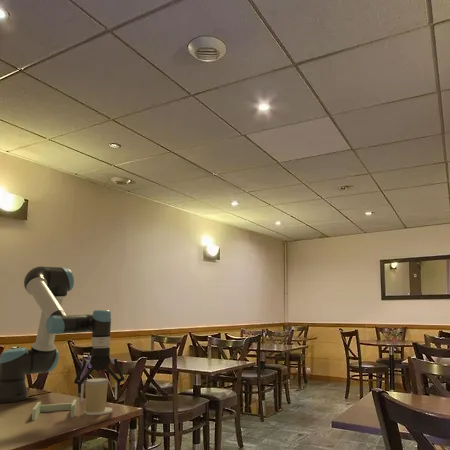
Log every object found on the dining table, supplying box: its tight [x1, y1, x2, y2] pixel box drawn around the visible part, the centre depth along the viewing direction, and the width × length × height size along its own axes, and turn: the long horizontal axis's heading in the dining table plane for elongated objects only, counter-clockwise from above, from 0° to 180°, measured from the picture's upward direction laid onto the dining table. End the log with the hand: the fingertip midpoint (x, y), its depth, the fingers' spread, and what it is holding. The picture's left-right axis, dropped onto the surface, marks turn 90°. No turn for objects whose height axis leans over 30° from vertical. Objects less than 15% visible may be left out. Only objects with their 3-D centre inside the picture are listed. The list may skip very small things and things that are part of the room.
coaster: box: [84, 406, 113, 416], centre depth 180 cm, size 11×11×1 cm
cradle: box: [31, 399, 78, 421], centre depth 177 cm, size 15×15×4 cm
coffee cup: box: [84, 377, 109, 412], centre depth 181 cm, size 9×9×12 cm
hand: (98, 400), depth 180 cm, fingers open, 13 cm apart
